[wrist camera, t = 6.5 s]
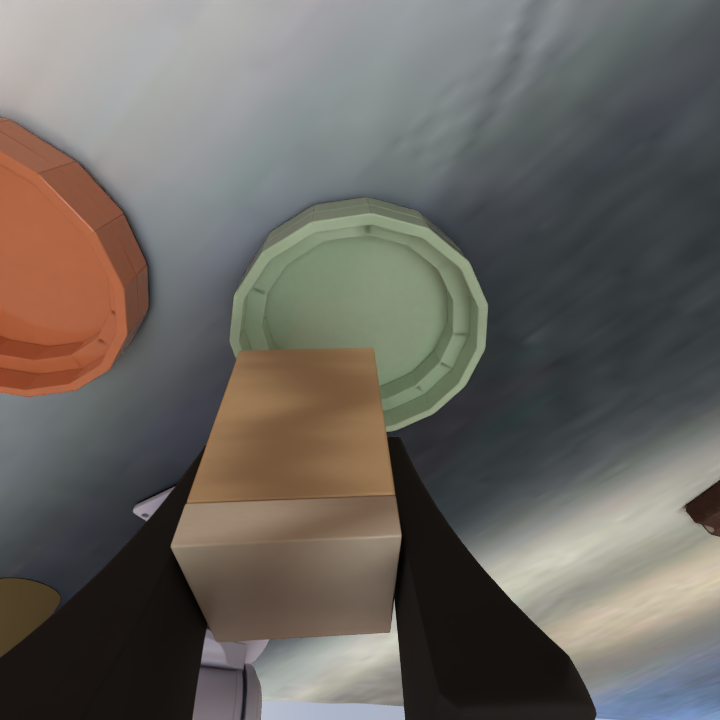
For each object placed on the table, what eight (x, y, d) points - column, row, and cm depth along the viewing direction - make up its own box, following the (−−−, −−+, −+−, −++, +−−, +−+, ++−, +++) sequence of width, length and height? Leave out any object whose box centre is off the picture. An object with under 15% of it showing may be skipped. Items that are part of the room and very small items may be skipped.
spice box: (373, 346, 14) (402, 536, 8) (370, 440, 16) (390, 633, 11) (239, 349, 14) (168, 547, 8) (257, 444, 16) (215, 643, 10)
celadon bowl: (499, 344, 23) (519, 377, 20) (324, 426, 26) (322, 462, 23) (409, 141, 17) (422, 152, 14) (192, 279, 20) (172, 307, 17)
